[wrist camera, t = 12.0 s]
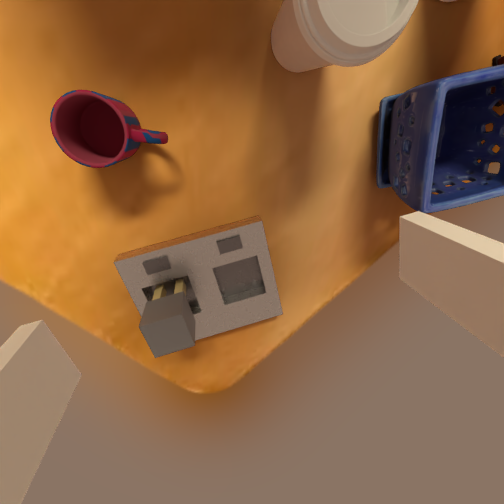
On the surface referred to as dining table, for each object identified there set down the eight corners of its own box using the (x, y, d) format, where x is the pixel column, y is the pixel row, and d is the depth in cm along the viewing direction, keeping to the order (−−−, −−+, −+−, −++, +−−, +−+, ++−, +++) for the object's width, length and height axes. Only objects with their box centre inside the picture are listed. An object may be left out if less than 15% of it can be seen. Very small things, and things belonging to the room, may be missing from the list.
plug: (151, 284, 40) (138, 326, 32) (185, 274, 41) (181, 314, 32) (163, 311, 43) (155, 357, 34) (195, 302, 43) (195, 345, 34)
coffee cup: (328, 92, 35) (411, 71, 21) (252, 81, 33) (290, 48, 19) (346, -6, 31) (461, -108, 17) (262, -26, 29) (318, -158, 16)
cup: (79, 89, 30) (48, 79, 24) (174, 114, 33) (168, 111, 27) (78, 153, 33) (50, 159, 27) (167, 171, 35) (160, 181, 29)
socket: (118, 254, 38) (112, 263, 36) (258, 215, 39) (262, 221, 37) (161, 340, 45) (158, 353, 43) (278, 304, 46) (283, 315, 44)
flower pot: (446, 175, 42) (531, 192, 31) (364, 194, 41) (423, 217, 30) (460, 73, 36) (569, 51, 26) (364, 91, 35) (437, 76, 25)
